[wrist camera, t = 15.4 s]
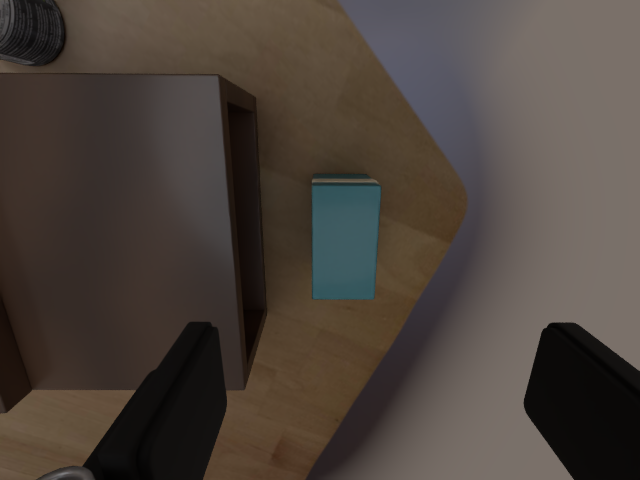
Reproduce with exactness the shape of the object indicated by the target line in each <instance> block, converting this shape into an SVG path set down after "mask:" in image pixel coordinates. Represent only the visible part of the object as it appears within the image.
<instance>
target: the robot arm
mask: <svg viewBox="0 0 640 480" xmlns="http://www.w3.org/2000/svg"><path fill="white" fill-rule="evenodd" d="M226 407H227V396H226V388H225V380H224V372H223V363H222V355H221V347H220V339H219V331H218V328H217V327H212V324H211V322H189V323H188V324H187V325H186V327H185V328H184V330H183V331H182V333H181V334H180V335H179V337H178V338H177V340H176V341H175V343H174V344H173V346H172V347H171V348H170V350H169V351H168V353H167V354H166V356H165V357H164V359H163V360H162V361H161V363H160V364H159V366H158V367H157V369H155V370H153V371H151V372H150V373H149V374H148V375H147V376H146V378H145V379H144V380H143V382H142V383H141V385H140V386H139V387H138V389H137V390H136V392H135V393H134V394H133V396H132V397H131V399H130V400H129V401H128V403H127V404H126V406H125V407H124V409H123V410H122V411H121V413H120V414H119V416H118V417H117V418H116V420H115V421H114V423H113V424H112V425H111V427H110V428H109V430H108V431H107V432H106V434H105V435H104V437H103V438H102V439H101V441H100V442H99V444H98V445H97V446H96V448H95V449H94V451H93V452H92V453H91V455H90V456H89V458H88V459H87V460H86V462H85V463H84V465H83V466H82V467H80V466H69V467H64V468H59V469H57V470H54V471H52V472H50V473H47V474H45V475H43V476H41V477H40V478H38V479H36V480H203V477H204V474H205V471H206V468H207V465H208V462H209V460H210V457H211V454H212V451H213V448H214V445H215V442H216V439H217V436H218V433H219V430H220V427H221V424H222V421H223V418H224V416H225V412H226ZM524 408H525V411H526V413H527V415H528V416H529V418H530V419H531V421H532V422H533V423H534V425H535V426H536V428H537V429H538V430H539V432H540V433H541V434H542V436H543V437H544V439H545V440H546V441H547V442H548V444H549V445H550V447H551V448H552V450H553V451H554V453H555V454H556V455H557V457H558V458H559V460H560V461H561V462H562V463H563V465H564V466H565V468H566V469H567V471H568V472H569V473H570V475H571V476H572V478H573V479H574V480H640V371H638V370H637V369H636V368H634V367H633V366H632V365H631V364H629V363H628V362H627V361H625V360H624V359H623V358H621V357H620V356H619V355H617V354H616V353H615V352H613V351H612V350H611V349H610V348H608V347H607V346H605V345H604V344H603V343H602V342H600V341H599V340H598V339H596V338H595V337H594V336H592V335H591V334H590V333H588V332H587V331H586V330H585V329H583V328H582V327H581V326H579V325H578V324H576V323H550V324H549V325H548V326H547V328H544V329H543V331H542V333H541V337H540V341H539V345H538V348H537V352H536V356H535V360H534V364H533V368H532V371H531V375H530V379H529V383H528V386H527V390H526V394H525V398H524Z"/></svg>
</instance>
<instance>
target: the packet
mask: <svg viewBox="0 0 640 480" xmlns="http://www.w3.org/2000/svg"><path fill="white" fill-rule="evenodd" d="M380 199H381V186H380V185H379V184H378V182H377V181H376V180H375V179H372V178H370V177H369V176H368V175H367V174H314V175H313V179H312V299H374V295H375V279H376V263H377V247H378V231H379V215H380Z"/></svg>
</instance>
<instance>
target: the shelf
mask: <svg viewBox="0 0 640 480" xmlns="http://www.w3.org/2000/svg"><path fill="white" fill-rule="evenodd" d="M266 316H267V308H266V288H265V269H264V249H263V230H262V210H261V191H260V171H259V152H258V132H257V113H256V98H255V97H254V96H252V95H251V94H249V93H248V92H246V91H244V90H243V89H241V88H240V87H238V86H236V85H235V84H233V83H231V82H230V81H228V80H227V79H225V78H223V77H222V76H220V75H218V74H98V73H0V413H7V412H8V411H9V410H11V409H12V408H13V407H14V406H15V405H16V404H17V403H18V402H20V401H21V400H22V399H23V398H24V397H25V396H26V395H27V394H29V393H30V392H31V391H32V390H137V389H138V387H139V386H140V385H141V383H142V382H143V380H144V379H145V378H146V376H147V375H148V374H149V373H150V372H151V371H153V370H155V369H157V367H158V366H159V364H160V363H161V361H162V360H163V359H164V357H165V356H166V354H167V353H168V351H169V350H170V348H171V347H172V346H173V344H174V343H175V341H176V340H177V338H178V337H179V335H180V334H181V333H182V331H183V330H184V328H185V327H186V325H187V324H188V323H189V322H211V324H212V327H217V328H218V331H219V339H220V347H221V355H222V363H223V372H224V380H225V388H226V390H245V388H246V384H247V381H248V378H249V375H250V371H251V368H252V364H253V361H254V358H255V354H256V351H257V347H258V344H259V340H260V337H261V334H262V330H263V327H264V323H265V320H266Z"/></svg>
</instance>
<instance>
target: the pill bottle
mask: <svg viewBox="0 0 640 480" xmlns="http://www.w3.org/2000/svg"><path fill="white" fill-rule="evenodd" d="M63 41H64V25H63V20H62V17H61V14H60V12H59V9H58V7H57V6H56V4H55V2H54V1H53V0H0V59H2V60H6V61H10V62H14V63H19V64H23V65H29V66H40V65H43V64H46V63H48V62H50V61H52V60H53V59H54V58H55V57H56V56H57V55H58V53H59V52H60V50H61V48H62V45H63Z"/></svg>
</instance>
